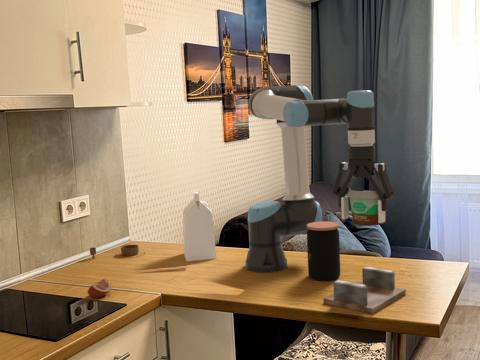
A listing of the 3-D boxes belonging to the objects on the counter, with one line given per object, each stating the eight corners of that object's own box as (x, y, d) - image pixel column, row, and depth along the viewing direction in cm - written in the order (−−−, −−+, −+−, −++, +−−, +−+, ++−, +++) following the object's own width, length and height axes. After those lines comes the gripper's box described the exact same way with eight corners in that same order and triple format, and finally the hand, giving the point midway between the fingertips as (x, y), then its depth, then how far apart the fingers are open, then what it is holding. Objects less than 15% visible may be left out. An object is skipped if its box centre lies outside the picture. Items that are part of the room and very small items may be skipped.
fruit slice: (98, 291, 193) (97, 277, 192) (116, 292, 191) (115, 278, 190) (84, 300, 185) (82, 284, 184) (102, 301, 183) (101, 285, 182)
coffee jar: (316, 271, 204) (314, 220, 201) (345, 274, 198) (343, 222, 196) (303, 279, 195) (301, 226, 192) (333, 283, 189) (331, 228, 187)
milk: (183, 255, 234) (179, 191, 231) (212, 253, 236) (208, 189, 233) (186, 263, 223) (182, 195, 219) (216, 260, 225) (212, 193, 221)
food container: (341, 224, 170) (340, 190, 169) (349, 220, 175) (348, 187, 174) (383, 227, 164) (382, 192, 163) (389, 223, 169) (389, 189, 168)
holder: (323, 303, 171) (322, 280, 170) (358, 285, 186) (357, 264, 185) (372, 314, 160) (372, 289, 159) (405, 294, 175) (405, 271, 174)
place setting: (136, 264, 227) (135, 249, 226) (88, 264, 231) (87, 249, 230) (151, 253, 244) (150, 239, 243) (106, 252, 248) (105, 239, 247)
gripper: (319, 145, 172) (321, 218, 175) (393, 146, 157) (394, 226, 159) (333, 143, 178) (335, 214, 181) (406, 144, 162) (407, 221, 165)
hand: (363, 220), depth 170 cm, fingers closed on food container, 11 cm apart
